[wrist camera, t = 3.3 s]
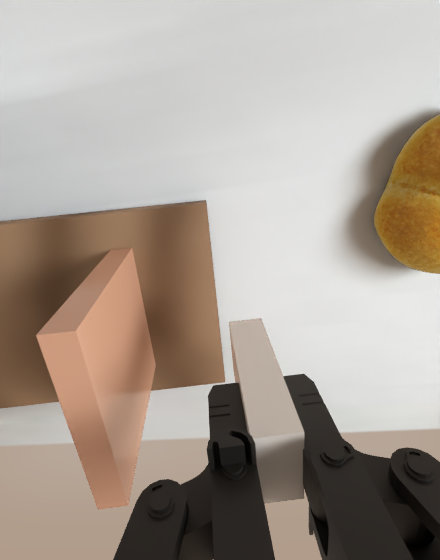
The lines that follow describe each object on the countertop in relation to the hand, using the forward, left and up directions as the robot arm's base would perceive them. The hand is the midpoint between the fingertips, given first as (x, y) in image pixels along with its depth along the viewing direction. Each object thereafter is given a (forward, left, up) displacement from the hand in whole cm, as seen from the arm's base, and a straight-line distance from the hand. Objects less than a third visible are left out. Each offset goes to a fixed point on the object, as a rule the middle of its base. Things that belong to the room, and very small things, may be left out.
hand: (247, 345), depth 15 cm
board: (+10, 0, -6) cm, 12 cm away
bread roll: (-13, -5, -6) cm, 15 cm away
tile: (+6, 0, -5) cm, 8 cm away
